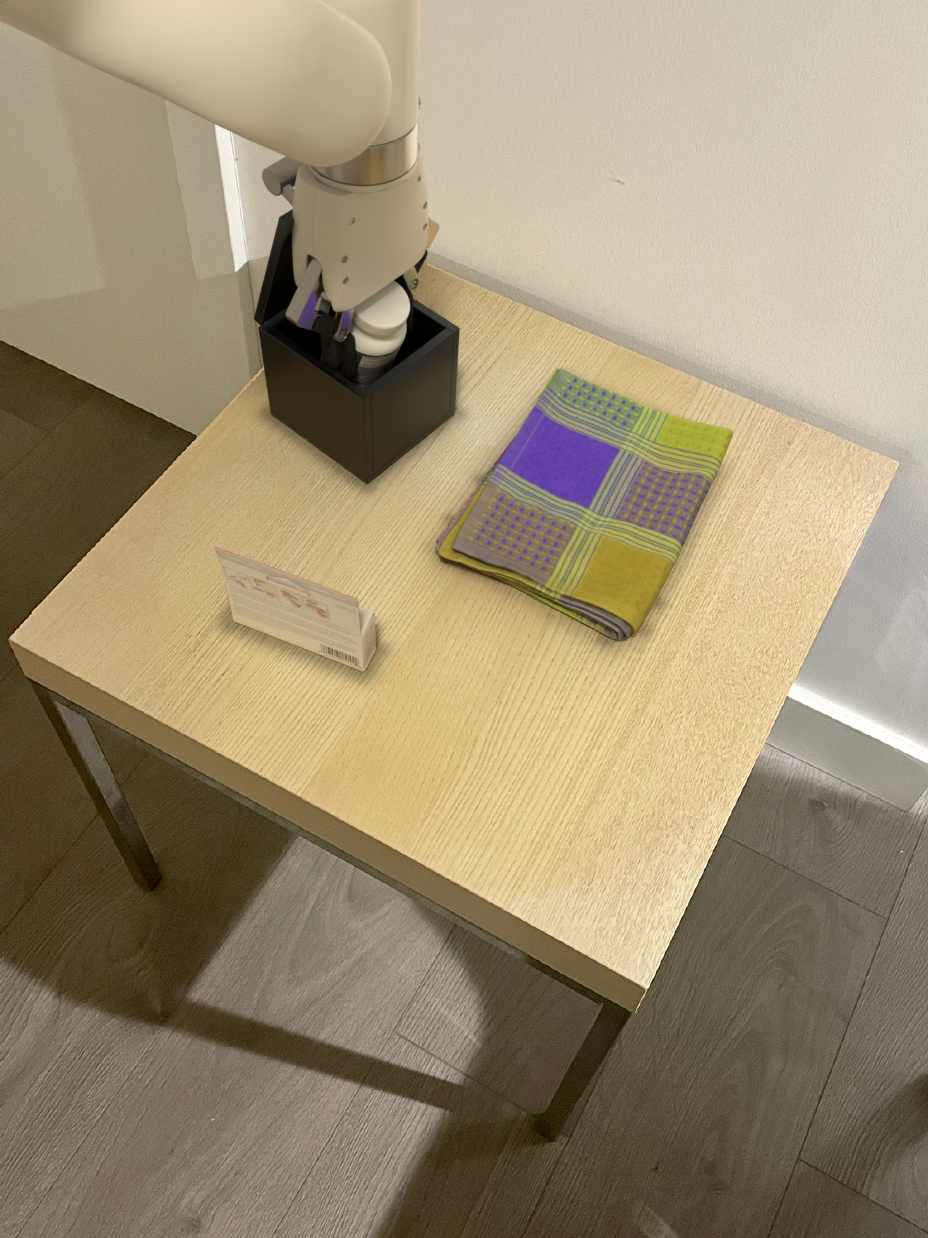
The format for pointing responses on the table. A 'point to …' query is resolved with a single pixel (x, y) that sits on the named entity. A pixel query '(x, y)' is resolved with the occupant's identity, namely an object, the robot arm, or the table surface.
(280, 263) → the black box lid
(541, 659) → the table surface
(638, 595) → the dish towel
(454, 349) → the black open box
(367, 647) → the ink cartridge box
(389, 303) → the pill bottle
